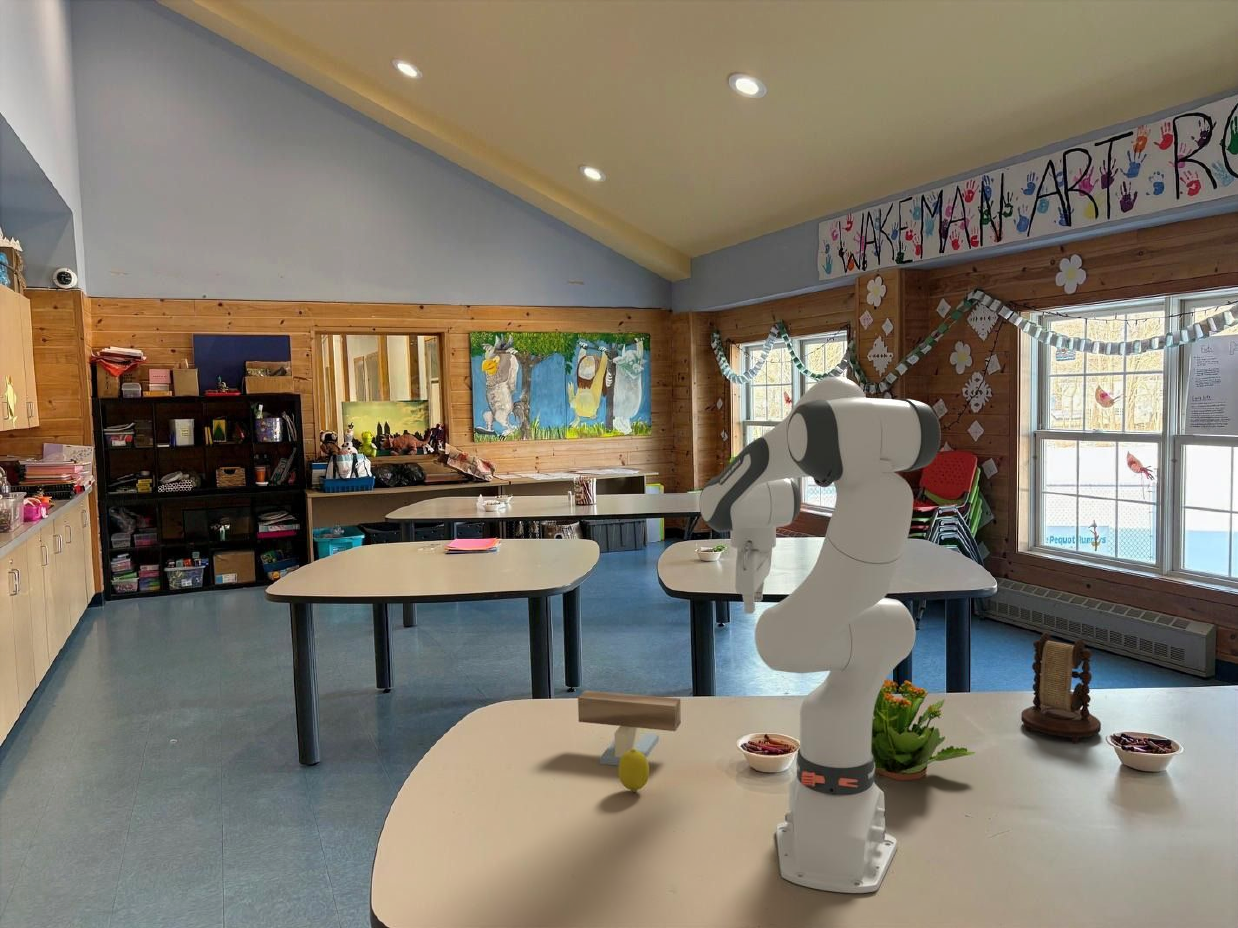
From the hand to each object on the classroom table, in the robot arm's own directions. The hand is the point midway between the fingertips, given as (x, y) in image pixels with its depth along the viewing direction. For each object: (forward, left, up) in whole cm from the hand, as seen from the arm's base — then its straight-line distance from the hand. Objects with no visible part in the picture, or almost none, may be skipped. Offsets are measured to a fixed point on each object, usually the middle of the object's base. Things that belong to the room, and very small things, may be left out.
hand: (753, 606), depth 177 cm
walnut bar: (-7, +24, -23) cm, 34 cm away
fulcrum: (-7, +24, -29) cm, 38 cm away
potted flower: (-3, -28, -29) cm, 41 cm away
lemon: (-24, +18, -29) cm, 42 cm away
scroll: (+26, -59, -29) cm, 71 cm away
